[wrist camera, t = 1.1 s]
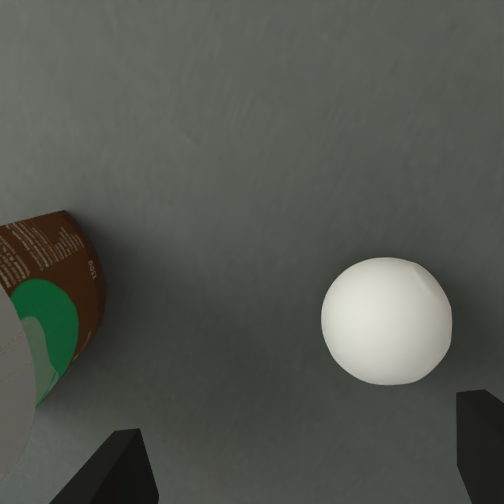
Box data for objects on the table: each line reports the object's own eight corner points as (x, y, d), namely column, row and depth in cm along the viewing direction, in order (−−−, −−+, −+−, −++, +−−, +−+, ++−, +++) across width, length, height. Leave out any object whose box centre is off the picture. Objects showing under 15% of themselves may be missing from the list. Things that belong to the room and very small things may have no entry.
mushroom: (380, 365, 22) (399, 436, 17) (297, 303, 21) (293, 357, 16) (457, 288, 20) (503, 341, 15) (370, 219, 20) (389, 252, 15)
